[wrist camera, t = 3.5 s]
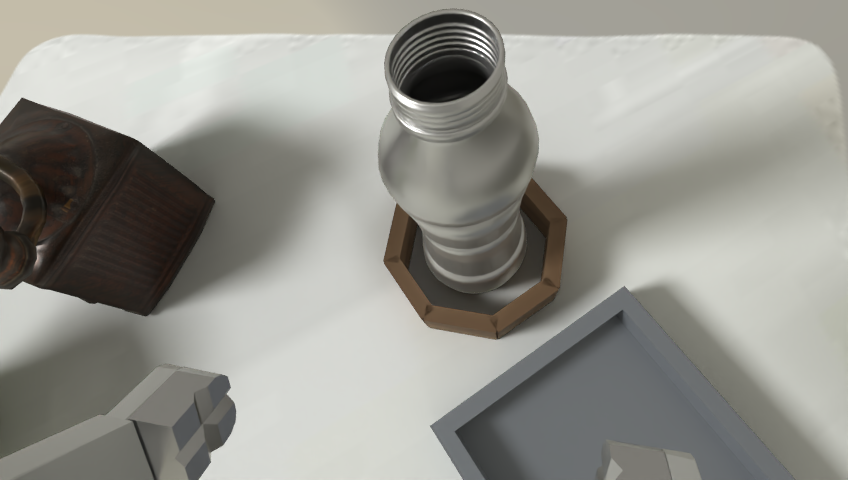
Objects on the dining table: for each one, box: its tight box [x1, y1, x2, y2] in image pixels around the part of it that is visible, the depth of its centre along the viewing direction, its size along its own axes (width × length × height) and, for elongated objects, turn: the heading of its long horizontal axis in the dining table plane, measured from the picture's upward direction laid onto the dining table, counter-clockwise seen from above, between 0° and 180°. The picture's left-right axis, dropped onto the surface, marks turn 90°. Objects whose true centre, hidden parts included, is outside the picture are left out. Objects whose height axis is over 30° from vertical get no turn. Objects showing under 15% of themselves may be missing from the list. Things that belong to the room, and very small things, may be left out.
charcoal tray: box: [430, 286, 795, 480], centre depth 26 cm, size 14×14×3 cm
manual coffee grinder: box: [0, 98, 215, 316], centre depth 29 cm, size 16×11×18 cm
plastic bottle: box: [378, 9, 539, 294], centre depth 24 cm, size 6×7×20 cm
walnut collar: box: [383, 178, 567, 340], centre depth 32 cm, size 11×11×3 cm
